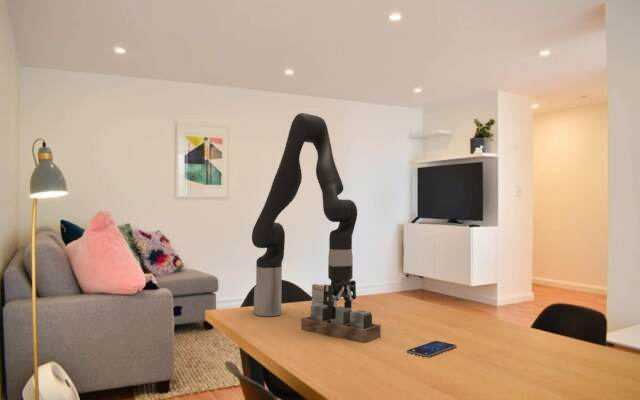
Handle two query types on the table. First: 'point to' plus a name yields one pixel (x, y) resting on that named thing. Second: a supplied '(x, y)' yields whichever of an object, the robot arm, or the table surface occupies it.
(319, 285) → the ink box
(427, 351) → the smartphone
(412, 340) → the table surface
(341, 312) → the grey cube
